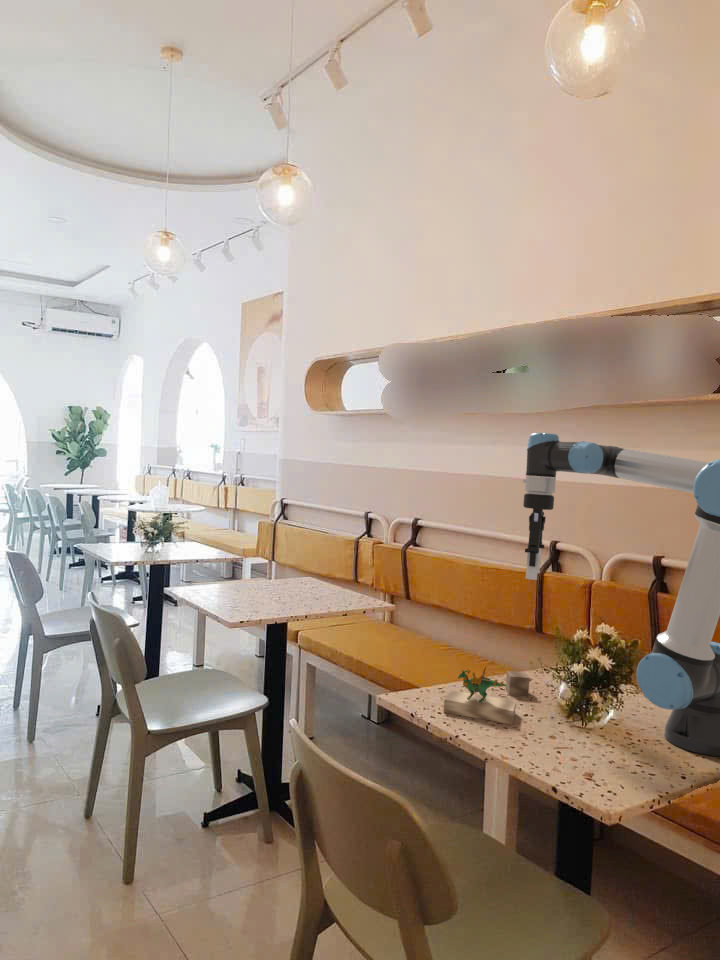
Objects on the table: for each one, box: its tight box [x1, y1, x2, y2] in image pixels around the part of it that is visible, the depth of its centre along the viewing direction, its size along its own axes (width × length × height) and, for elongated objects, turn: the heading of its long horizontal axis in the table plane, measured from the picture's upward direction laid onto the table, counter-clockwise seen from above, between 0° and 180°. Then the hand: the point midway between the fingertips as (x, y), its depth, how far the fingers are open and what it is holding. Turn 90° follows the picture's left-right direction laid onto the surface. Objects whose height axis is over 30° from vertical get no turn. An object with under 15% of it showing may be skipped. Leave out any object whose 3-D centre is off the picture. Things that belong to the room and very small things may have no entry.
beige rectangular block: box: [443, 689, 517, 725], centre depth 169 cm, size 16×8×3 cm, turn 73°
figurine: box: [457, 666, 507, 702], centre depth 168 cm, size 3×12×8 cm, turn 67°
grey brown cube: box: [505, 670, 530, 697], centre depth 187 cm, size 5×5×5 cm
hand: (532, 576), depth 182 cm, fingers open, 13 cm apart
